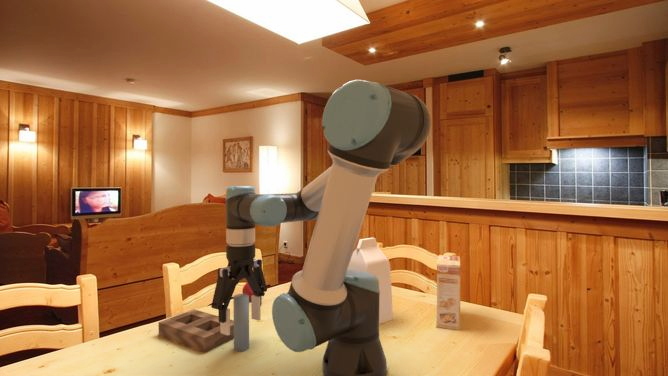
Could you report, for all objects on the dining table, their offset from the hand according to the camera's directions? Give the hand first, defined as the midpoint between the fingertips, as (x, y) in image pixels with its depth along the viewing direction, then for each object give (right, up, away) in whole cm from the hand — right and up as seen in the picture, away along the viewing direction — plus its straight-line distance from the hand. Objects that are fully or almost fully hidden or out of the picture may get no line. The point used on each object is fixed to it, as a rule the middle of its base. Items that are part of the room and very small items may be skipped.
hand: (241, 326), depth 95 cm
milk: (+36, -6, +21) cm, 42 cm away
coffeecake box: (+62, -6, +19) cm, 65 cm away
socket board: (-14, -6, +8) cm, 17 cm away
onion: (-7, -5, +38) cm, 39 cm away
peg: (0, -6, 0) cm, 6 cm away
